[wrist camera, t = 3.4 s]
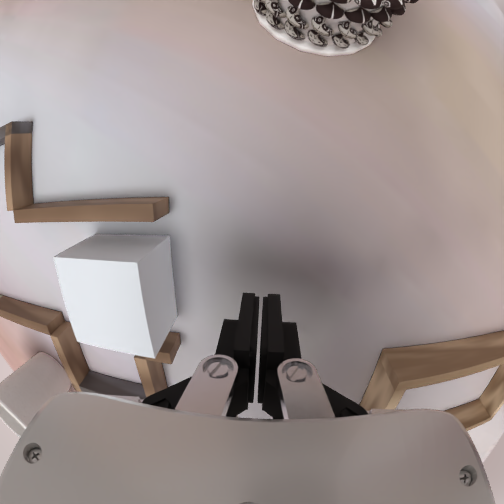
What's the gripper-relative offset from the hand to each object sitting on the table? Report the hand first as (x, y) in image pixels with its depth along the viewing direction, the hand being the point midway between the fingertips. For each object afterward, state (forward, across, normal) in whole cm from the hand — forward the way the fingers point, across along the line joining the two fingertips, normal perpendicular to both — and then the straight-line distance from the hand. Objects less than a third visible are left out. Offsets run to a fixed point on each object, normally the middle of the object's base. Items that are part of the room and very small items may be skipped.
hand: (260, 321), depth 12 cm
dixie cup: (+5, +24, +15) cm, 29 cm away
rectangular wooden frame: (+5, -21, +13) cm, 25 cm away
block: (+6, +9, +1) cm, 11 cm away
